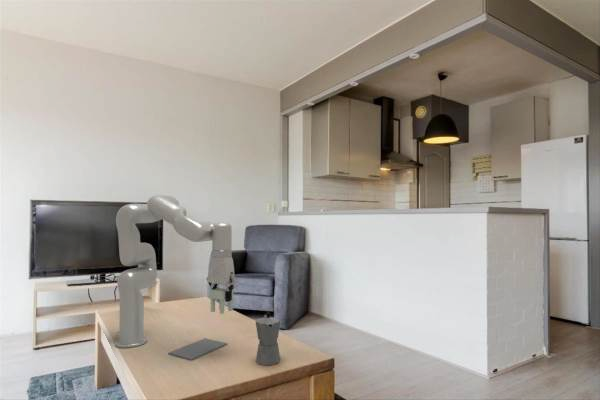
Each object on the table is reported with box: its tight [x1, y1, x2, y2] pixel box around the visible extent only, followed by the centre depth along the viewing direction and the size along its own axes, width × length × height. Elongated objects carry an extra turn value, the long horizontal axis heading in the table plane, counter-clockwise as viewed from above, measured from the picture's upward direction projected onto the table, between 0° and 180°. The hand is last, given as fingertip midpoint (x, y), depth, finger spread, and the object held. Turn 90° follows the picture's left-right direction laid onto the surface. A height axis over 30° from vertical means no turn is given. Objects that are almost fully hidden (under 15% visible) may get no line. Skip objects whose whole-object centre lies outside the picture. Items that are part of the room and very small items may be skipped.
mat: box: [167, 337, 228, 362], centre depth 153 cm, size 13×20×1 cm, turn 149°
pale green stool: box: [209, 286, 234, 315], centre depth 148 cm, size 6×6×8 cm
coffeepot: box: [255, 312, 281, 367], centre depth 142 cm, size 15×9×18 cm, turn 13°
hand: (221, 299), depth 148 cm, fingers closed on pale green stool, 6 cm apart
